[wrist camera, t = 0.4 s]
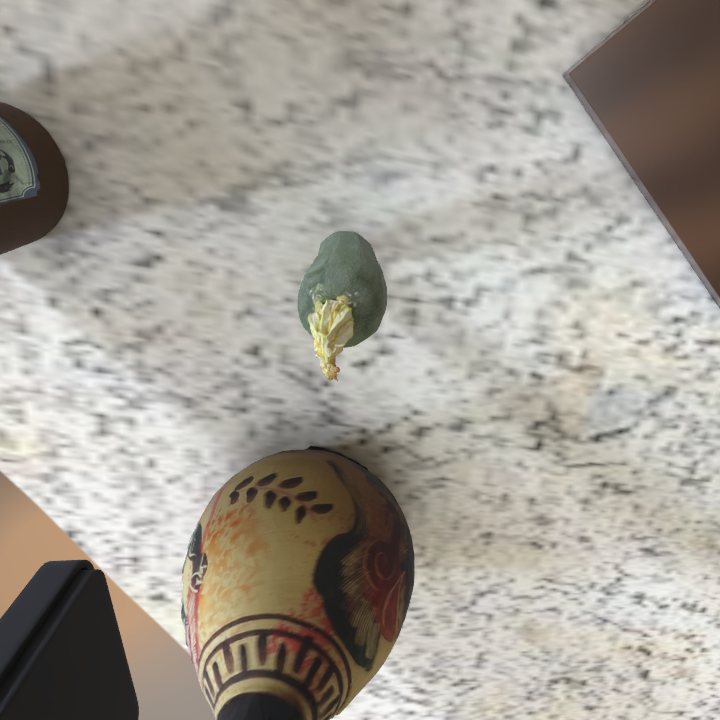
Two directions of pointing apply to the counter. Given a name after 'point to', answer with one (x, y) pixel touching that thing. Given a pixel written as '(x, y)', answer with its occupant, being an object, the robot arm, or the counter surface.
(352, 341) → the vegetable
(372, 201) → the counter surface
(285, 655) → the ceramic jug
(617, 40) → the board
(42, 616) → the robot arm
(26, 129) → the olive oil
